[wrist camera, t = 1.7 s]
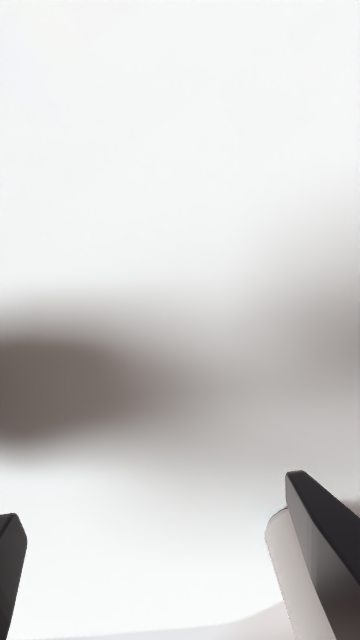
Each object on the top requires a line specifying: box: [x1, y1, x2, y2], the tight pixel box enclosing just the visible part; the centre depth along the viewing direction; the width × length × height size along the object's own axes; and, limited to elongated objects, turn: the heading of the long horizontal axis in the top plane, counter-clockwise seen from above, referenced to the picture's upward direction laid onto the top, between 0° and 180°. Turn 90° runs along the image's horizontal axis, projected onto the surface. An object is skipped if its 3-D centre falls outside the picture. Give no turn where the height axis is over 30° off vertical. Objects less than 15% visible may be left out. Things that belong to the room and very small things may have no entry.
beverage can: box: [265, 508, 336, 640], centre depth 22 cm, size 5×5×12 cm
